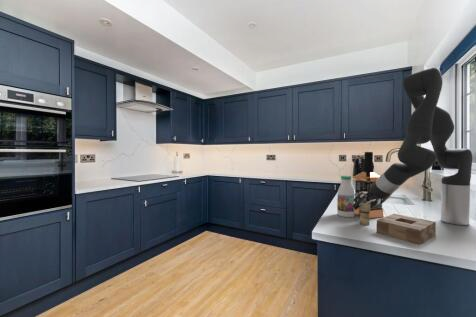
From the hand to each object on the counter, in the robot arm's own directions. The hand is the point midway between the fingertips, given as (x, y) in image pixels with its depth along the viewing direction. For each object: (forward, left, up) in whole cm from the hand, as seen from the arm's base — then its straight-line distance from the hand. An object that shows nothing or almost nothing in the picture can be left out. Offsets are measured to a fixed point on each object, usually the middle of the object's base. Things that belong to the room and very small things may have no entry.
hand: (362, 207), depth 100 cm
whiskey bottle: (-16, -5, -7) cm, 18 cm away
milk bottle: (-6, -11, -7) cm, 14 cm away
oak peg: (0, +1, -7) cm, 7 cm away
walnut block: (-1, +16, -7) cm, 18 cm away
